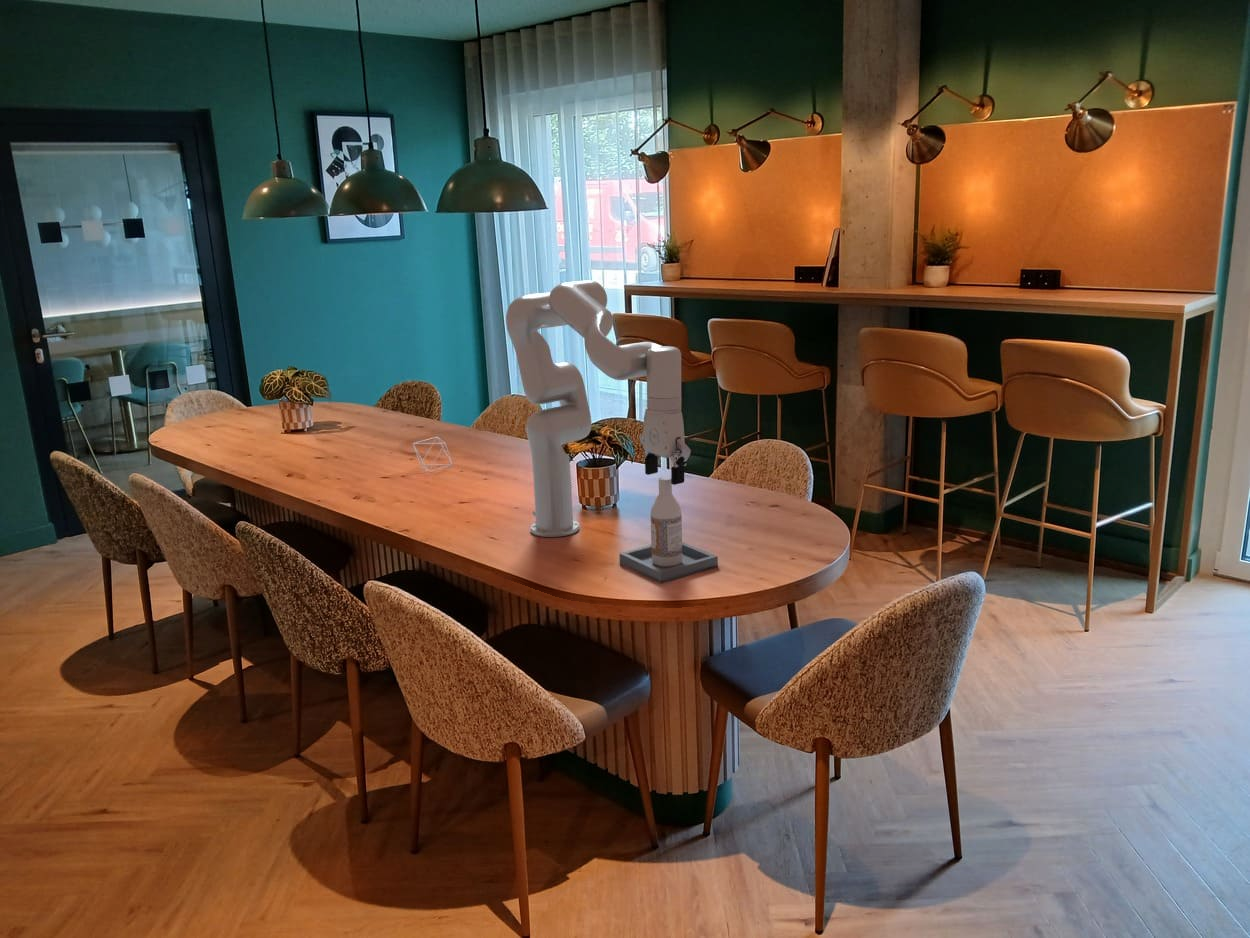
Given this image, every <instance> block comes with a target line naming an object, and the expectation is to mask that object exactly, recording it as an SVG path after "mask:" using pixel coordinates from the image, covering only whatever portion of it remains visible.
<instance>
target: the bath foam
mask: <svg viewBox="0 0 1250 938" xmlns="http://www.w3.org/2000/svg"><path fill="white" fill-rule="evenodd" d="M672 485H673V484H672V483H671V476H661V477H659V478H658V495H657V496H656V498H655V499H654V501H653V504H652V506H651V509H650V537H651V538H650V540H651V544H650V545H652V562H653V563H654V564H655V565H657V566H660V567H673V566H677V565H679V564H680V563H681V562H682V542H683V524H682V522H683V520H682V517H683V516H682V510H681V509H682V508H681V506H680V503H679V502H678V500H677V498H676V497H675V496H674V495H673V486H672Z"/></svg>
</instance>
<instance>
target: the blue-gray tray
mask: <svg viewBox="0 0 1250 938" xmlns="http://www.w3.org/2000/svg"><path fill="white" fill-rule="evenodd" d="M618 556H619V564H620V565H622V566H624V567H626V568H628V569H630V570H632V571H634V572H636V573H638V574H641V575H643V576H645V577H647V578H648V579H651V580H653V581H655V582H657V583H659V584H664V583H667V582H671V581H674V580H678V579H681V578H685V577H688V576H691V575H695V574H698V573H701V572H704V571H708V570H712V569H714V568H718V565H719V563H718V562H719V561H718V559H719V557H718V555H715V554H714V553H713V554H712V552H711V553H710V552H708V551H706V550H703V549H701V548H699V547H696V546H693V545H691V544H688V543H686V542H683V541H682V562H681V563H680V564H679V565H677V566H673V567H660V566H657V565H655V564H654V563H653V562H652V545H651V544H649V545H646V546H642V547H639V548H638V547H637V548H635V549H630V550H626V551H623V552H620V553H619V555H618Z"/></svg>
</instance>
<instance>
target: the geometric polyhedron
mask: <svg viewBox="0 0 1250 938" xmlns="http://www.w3.org/2000/svg"><path fill="white" fill-rule="evenodd" d="M431 439H434V440H433V442H425V441H428V440H431ZM436 440H438V442H436ZM435 444H437V445H438V444H439V445H440V446H441V449H440V451H439V452H438V454H437V455H436V457H435V459H434V461H433V463H432V464H430V463H429V464H428V463H426V464H425V462H424V461H425V459H426V458H427V456H428V454H429V453H430V450H431V448H432V447H433V445H435ZM415 445H431V446H430V447H429V449H428V451H427V453H426V454H425V456H424V458H422V456H421V454H420V453H419V452H418V450H417V448H416V446H415ZM412 447H413V449H414V451H415V454H416V457H417V459H418V462H419V465H420V467H422V468H423V469H424V470H425V471H426V472H428V473H431V472H435V471H437V470H440V469H443V468H446V467H449V466H450V467H451V466H452V465H453V462H452V459H451V455H450V452H449V450H448V446H447V443H446V442H445V441H444V440H442V439H441V438H440V437H439V436H434V437H431V438H427V439H423V440H419V441H416V442H413V443H412ZM444 447H446V449H445V448H444ZM442 450H443V451H444V453H445V455H446V457H447V458H448V459H449V462H450V463H447V464H446V463H444V464H443V463H439V464H437V463H436V464H435V462H436V461H437V459H438V457H439V456H440V454H441V452H442ZM420 460H421V461H420ZM427 466H430V468H429V470H428V468H427ZM433 466H441V467H439V468H436V469H432V468H433ZM431 469H432V470H431Z"/></svg>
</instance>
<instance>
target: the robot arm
mask: <svg viewBox="0 0 1250 938" xmlns="http://www.w3.org/2000/svg"><path fill="white" fill-rule="evenodd" d="M607 305H608V295H607V292H606V290H605V289H604V287H603V285H601V284H600V283H599V282H596V281H595V280H592V279H591V280H589V279H588V280H586V279H584V280H578V281H576V280H575V281H567V282H562V283H560V284H557V285H556V286H555V287H553V289H552V290H551V291H550V292H541V293H540V292H538V293H531V294H525V295H522V296H519V297H517V298H515V299H514V300H512V301H511V303H509V305H508V307H507V311H506V315H505V325H506V330H507V333H508V336H509V338H510V341H511V342H512V346H513V349H514V351H515V355H516V359H517V360H516V361H517V365H518V369H519V374H520V379H521V383H522V388H523V392H524V395H525V397H526V399H527V401H528V402H529V403H531V404H533V405H544V404H550V403H554V402H559V404H560V406H555V407H551V408H544V409H541V410H538V411H536V412H534V413H532V415H530V416H529V417H528V420H527V421H526V424H525V425H526V426H525V432H526V435H527V441H528V443H529V448H530V455H531V461H532V462H531V464H532V475H533V479H532V480H533V491H534V492H533V493H534V509H535V510H534V511H532V516H534V517H535V521H534V522H533V523H531V525H530V527H529V528H530V533H532V534H533V535H535V536H539V537H542V538H559V537H561V538H562V537H564V536H565V537H566V536H570V535H573V534H575V533H577V532H579V530H580V522H578V520H574V513H573V512H574V511H573V493H572V489H573V488H572V473H571V462H570V458H569V456H568V455H567V453H566V451H565V450H564V448H563V445H566V444H570V443H573V442H578V441H580V440H583V439H585V438H587V436H589V435H590V432H591V429H592V416H591V415H592V414H591V411H590V406H589V400H588V396H587V395H588V394H587V391H586V387H585V382H584V378H583V375H582V374H581V372H580V370H579V368H578V367H577V366H576V365H575V364H573V363H571V362H566V361H561V362H554V360H553V357H552V353H551V348H550V346H549V344H548V342H547V340H546V339H545V337H544V336H543V334H541V333H540V332H539V331H538V330H539V329H540V330H541V329H547V328H554V327H562V326H569V327H570V328H571V329H572V330H573V331H575V332H576V333H577V334H578V335H579V336H581V337H582V338H583V339H584V347H585V351H586V354H587V356H588V358H589V360H590V362H591V363H592V364H593V365H594V367H596V368H597V369H599V370H600V371H601V372H602V373H603V374H605V375H606V376H607V377H609V378H611V379H612V380H615V381H627V380H630V379H636V378H642V377H646V407H645V410H644V415H643V425H642V434H639V440H640V445H641V446H640V447H641V449H642V451H643V453H642V454H643V457H644V472H645V475H647V476H649V475H654V474H658V472H659V457H660V458H665V459H667V458H669V459H670V462H671V464H672V466H671V469H670V471H671V472H670V473H671V475H670V478H671V483H672V485H673V486H675V485H678V484H679V485H680V484H683V483H685V467H686V466H687V463H688V462H689V460H690V459H689V458H690V455H691V452H692V451H691V448H690V447H689V446H688V445H687V444H686V443H685V429H684V428H685V427H684V426H685V425H684V418H683V413H682V352H681V351H680V349H679V348H678V347H676V346H669V345H668V346H667V345H666V346H665V345H664V346H663V345H660V344H657V343H655V342H652V341H642V342H641V341H640V342H635V343H628V344H622V345H617V344H615V343H614V342H613V341H612V340H611V339H609V338H608V337H607V336H608V335H609V334H610V332H611V330H612V328H613V326H614V317H613V313H611V311H610V310H609V309H608V308H607ZM676 458H678V459H676Z"/></svg>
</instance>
